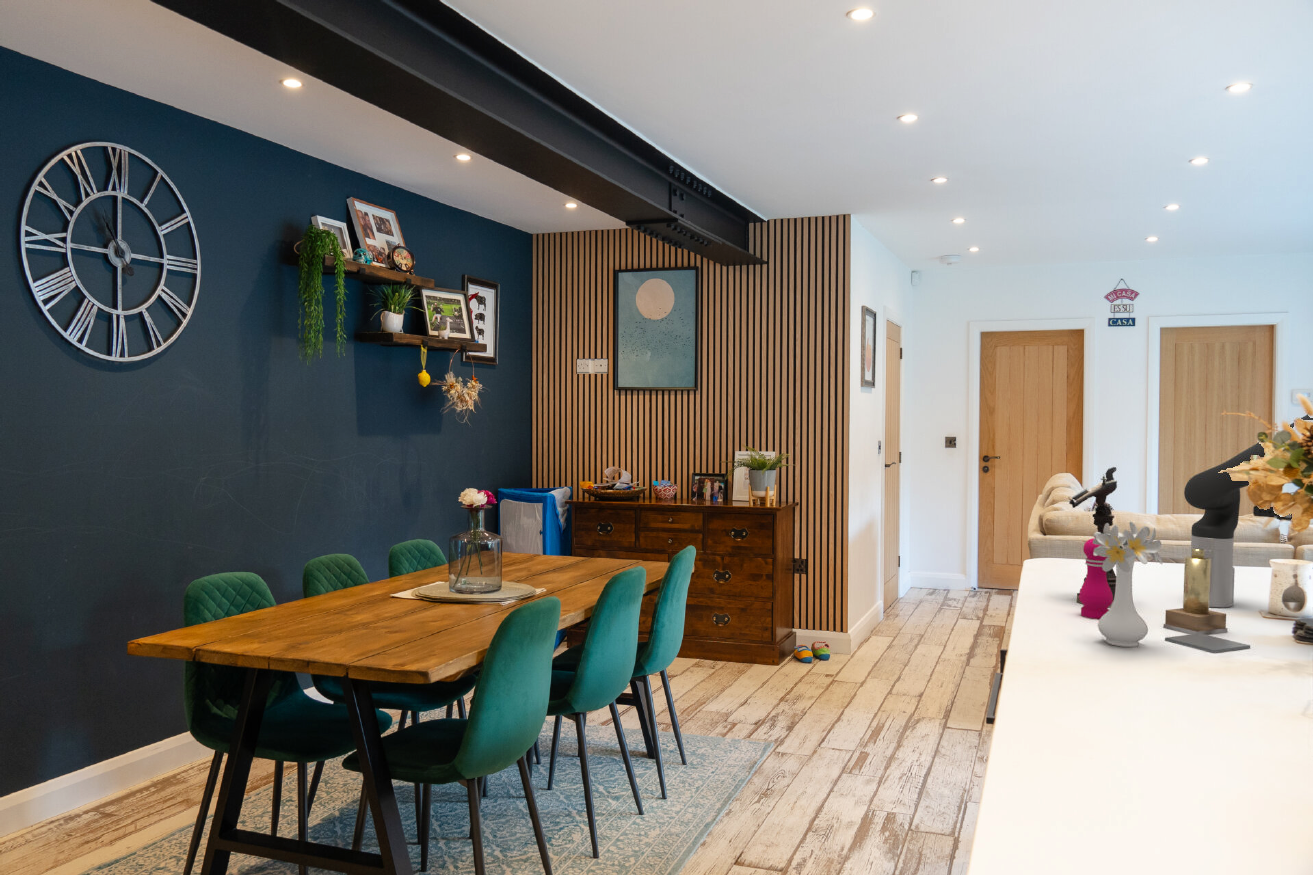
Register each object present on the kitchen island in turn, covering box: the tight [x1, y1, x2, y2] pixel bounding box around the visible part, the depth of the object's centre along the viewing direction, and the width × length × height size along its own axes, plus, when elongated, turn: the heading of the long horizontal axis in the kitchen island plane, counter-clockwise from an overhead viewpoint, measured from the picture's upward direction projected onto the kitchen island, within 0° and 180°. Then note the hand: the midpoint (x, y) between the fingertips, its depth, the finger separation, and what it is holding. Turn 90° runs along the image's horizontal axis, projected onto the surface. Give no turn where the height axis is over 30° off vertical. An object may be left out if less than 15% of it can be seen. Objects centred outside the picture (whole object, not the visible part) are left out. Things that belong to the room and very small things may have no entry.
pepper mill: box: [1079, 531, 1113, 620], centre depth 221 cm, size 7×7×20 cm
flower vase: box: [1093, 521, 1163, 648], centre depth 194 cm, size 13×18×25 cm
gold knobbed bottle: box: [1182, 548, 1211, 614], centre depth 209 cm, size 5×5×14 cm
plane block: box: [1162, 607, 1228, 635], centre depth 209 cm, size 10×8×4 cm
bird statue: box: [1067, 466, 1118, 609], centre depth 237 cm, size 17×13×35 cm
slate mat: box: [1164, 633, 1251, 654], centre depth 196 cm, size 11×11×1 cm
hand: (1257, 509), depth 201 cm, fingers open, 8 cm apart
